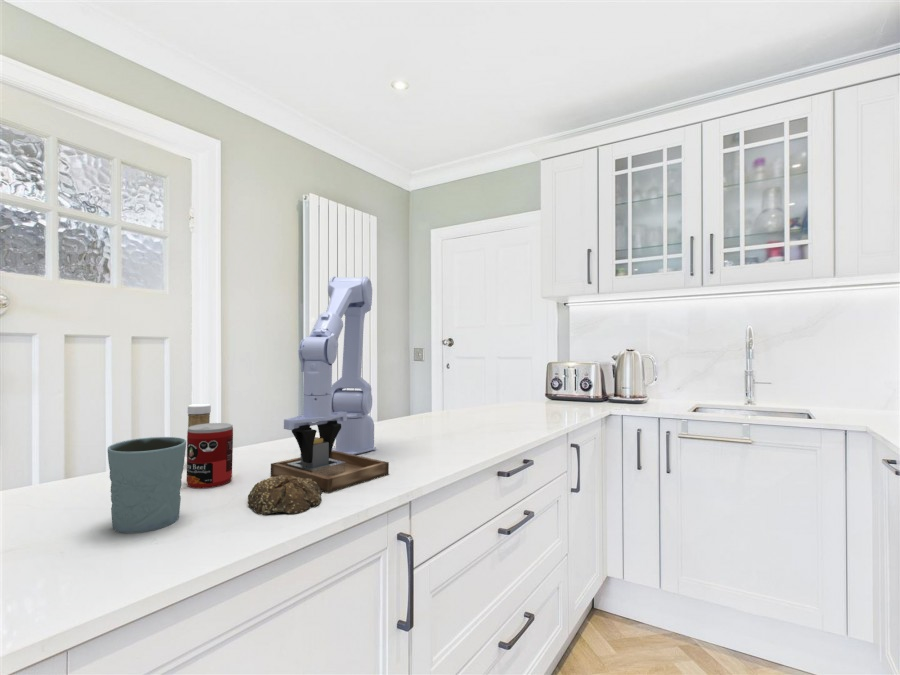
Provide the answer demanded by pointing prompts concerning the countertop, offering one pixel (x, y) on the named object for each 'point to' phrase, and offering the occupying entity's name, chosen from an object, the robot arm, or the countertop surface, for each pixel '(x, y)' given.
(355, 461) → the tray
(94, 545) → the countertop surface
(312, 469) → the socket
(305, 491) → the bread roll
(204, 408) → the sprinkles bottle
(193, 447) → the canned food
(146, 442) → the green plant pot
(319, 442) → the block
